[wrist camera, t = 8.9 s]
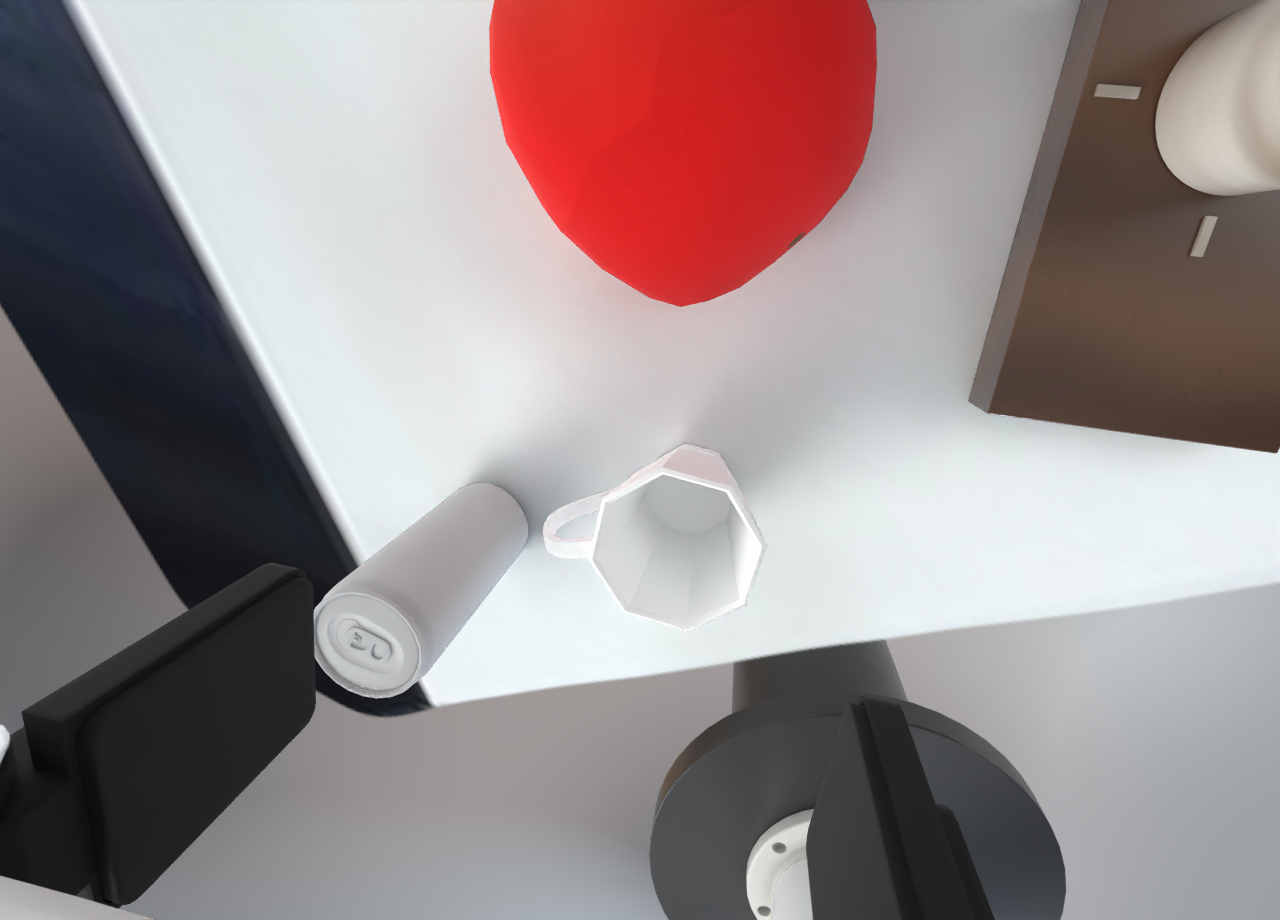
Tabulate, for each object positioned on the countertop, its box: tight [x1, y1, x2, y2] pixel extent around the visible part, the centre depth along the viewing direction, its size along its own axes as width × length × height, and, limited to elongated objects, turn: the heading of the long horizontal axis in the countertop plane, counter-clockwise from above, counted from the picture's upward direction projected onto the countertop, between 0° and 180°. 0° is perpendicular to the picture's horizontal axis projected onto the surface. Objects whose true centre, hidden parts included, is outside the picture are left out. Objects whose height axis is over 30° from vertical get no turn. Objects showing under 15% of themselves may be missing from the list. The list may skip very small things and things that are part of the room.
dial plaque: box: [968, 0, 1280, 453], centre depth 24 cm, size 17×11×3 cm, turn 174°
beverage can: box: [314, 483, 528, 698], centre depth 29 cm, size 5×5×12 cm
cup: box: [543, 443, 767, 632], centre depth 28 cm, size 7×10×8 cm
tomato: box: [489, 0, 877, 307], centre depth 22 cm, size 13×13×13 cm
